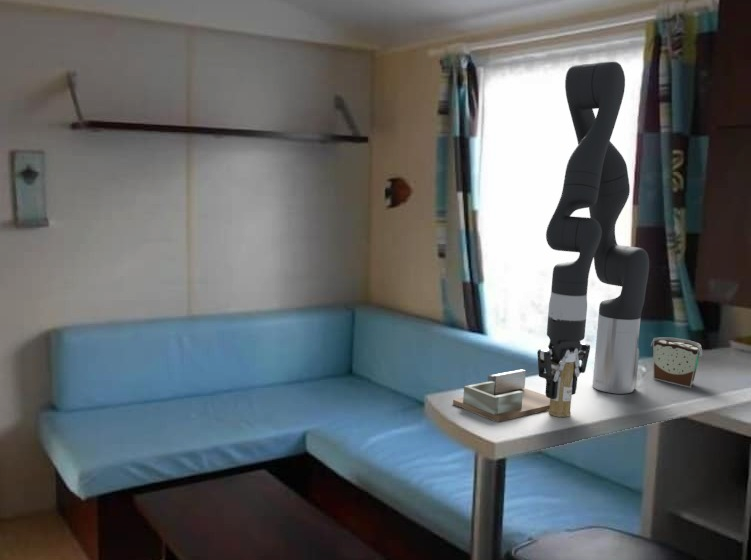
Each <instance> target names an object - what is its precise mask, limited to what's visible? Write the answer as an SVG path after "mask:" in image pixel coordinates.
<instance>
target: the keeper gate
mask: <svg viewBox="0 0 751 560" xmlns="http://www.w3.org/2000/svg"><path fill="white" fill-rule="evenodd" d="M526 372H527V370H525V369H516V370H511V371H505V372H500V373H496V374H495V373H494V374H488V375H487V380H486V382H489V381H493V382H495V387H494V395H495V394H498V393H502V392H507V391H512V390H517V389H522V388H526V387H525V386H526V375H527V373H526Z"/></svg>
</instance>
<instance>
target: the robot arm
mask: <svg viewBox="0 0 751 560" xmlns="http://www.w3.org/2000/svg"><path fill="white" fill-rule="evenodd" d="M564 88H565V96H566V101H567V105H568V109H569V113H570V114H569V115H570V117H571V121H572V124H573V128H574V129H573V130H574V133H575V136H576V140H577V146H576V147H575V149H574V150H573V152H572V153H571V155H570V157H569V159H568V161H567V164H566V168H565V174H564V180H563V186H562V191H561V196H560V198H559V200H558V203H557V206H556V207H555V211H554V212H553V214H552V216H551V218H550V221H549V222H548V225H547V227H546V228H547V229H546V232H545V238H546V242H547V245H548V247H550V249H552V250H555V251H559V252H560V251H561V252H570V253H572V252H573V253H579V256H578V257H577V259H576V260H575V261H569V262H561V263H560V262H559V263H557V264H556V265H554V266H553V269H552V277H551V279H552V280H551V291H550V298H549V301H548V302H549V303H548V312H547V314H548V315H547V326H546V336H547V337H548V338H549V343H548V346H547V348H546V349H538V350H537V354H536V355H537V365H538V366H537V367H538V377H539V378H543V379H545V392H544V393H545V395H546V397H548V398H550V399H556V397H557V386H558V382H557V380H558V377H559V374H560V372H561V371H563V368H564V365H565V359H566V358H568V355H569V354H570V352H573V353H575V361H574V368H573V385H572V396H573V395H575V394H576V391H577V388H578V387H577V385H578V377H580V374H584V373H585V372H586V368H587V364H588V360H589V355H590V350H591V345H590V344H588V343H587V344H586V343H584V342H581V341H583V340H584V339H585V335H586V324H587V323H586V322H587V312H588V287H589V286H588V285H589V275H590V271H591V267H592V264H593V262H594V269H595V274H596V277H597V279H598V281H599V282H601V283H603V284H605V285H610V286H611V285H612V286H616V287H622V288H621V289H620V290H621V291H620V294H619V296H617V297H614V298H612V299H610V298H609V299H606V300H605V299H604V300H603V301H601V302H600V303H599V305H598V306H599V307H598V318H597V319H598V320H597V329H596V340H595V341H596V343H595V353H594V363H593V376H592V378H593V379H592V387H593V388H594V389H595V390H597V391H601V392H605V393H609V394H621V395H623V394H630V393H632V392H634V390H635V389H636V388H637V379H638V369H639V359H640V349H639V338H640V326H641V318H642V311H643V307H644V304H645V300H646V299H645V298H646V292H647V285H648V278H649V273H650V258H649V257H650V256H649V254H648V252H647V251H646V250H645V249H644V248H642V247H636V246H629V245H628V246H627V245H621V244H618V242H617V239H616V224H617V220H618V219H619V216H620V215H621V213H622V211H623V209H624V208H625V206H626V204H627V201H628V199H629V197H630V192H631V191H630V188H631V187H630V180H629V179H630V178H629V172H628V165H627V163H626V162H627V161H626V159H625V158H624V156H623V155H622V154H621V152H620V151H619V150H618V148H617V147H616V146H615V145H614V144H613V143H612V141H611V138H612V135H613V131H614V129H615V125H616V122H617V119H618V116H619V113H620V109H621V107H622V102H623V98H624V95H625V88H626V76H625V71H624V69H623V67H622V65H621V63H619V62H617V61H614V60H607V61H605V60H604V61H596V62H589V63H580V64H575V65H574V64H573V65H572V66H570V67H569V68H568V70H567V71H566V74H565V79H564ZM594 109H598V110H597V114H596V115H595V113H594ZM586 208H588V210H589V217H586V216H584V217H583V216H571V215H572V214H573V213H574V212H576V211H578V210H581V209H586ZM580 361H581V364H580ZM553 362H554V363H556V364H559V365H558V366H555V365H553ZM553 369H555V371H554V374H553V375H552V370H553Z"/></svg>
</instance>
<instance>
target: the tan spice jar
mask: <svg viewBox="0 0 751 560" xmlns="http://www.w3.org/2000/svg"><path fill="white" fill-rule="evenodd" d="M574 361H575V353H573V352H570V354H569V355H568V358H566V359H565V365H564V368H563V371H561V372H560V374H559V377H558V380H557V382H558V386H557V397H556V399H550V407H549V410H547V411H548V414H550V415H551V416H553V417H557V418H558V417H559V418H567V417H569V416H571V414H572V413H571V412H572V411H571V406H572V399H573V395H572V385H573V368H574ZM553 365H555V366H558V365H559V364H556V363H554V362H553ZM554 371H555V369H553V370H552V375H553V374H554Z"/></svg>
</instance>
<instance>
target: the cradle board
mask: <svg viewBox="0 0 751 560" xmlns="http://www.w3.org/2000/svg"><path fill="white" fill-rule="evenodd" d="M494 387H495V382H493V381H489V382H487V381H483V382H480V383H479V382H478V383H475V384H474V383H473V384H469V385H465V386H463V397H460V398H453V399H452V405H455V406H456V407H460V408H461V407H462V409H464V408H465V409H464V410H466V409H467V411H469V412H471V411H472V412H471V413H474V414H477V415H479V416H481V417H484V418H487V419H488V420H489V419H490V420H491V421H493V422H496V423H498V422H499V423H500V422H504V421H508V420H513V419H515V418H516V419H517V418H520V417H524V416H529V415H532V414H537V413H541V412H546V411H549V407H550V398H548V397H546V394H542V393H540V392H537V391H534V390H530V389H529V388H526V387H525V388H522V389H517V390H512V391H507V392H502V393H498V394H495V395H494Z"/></svg>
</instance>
